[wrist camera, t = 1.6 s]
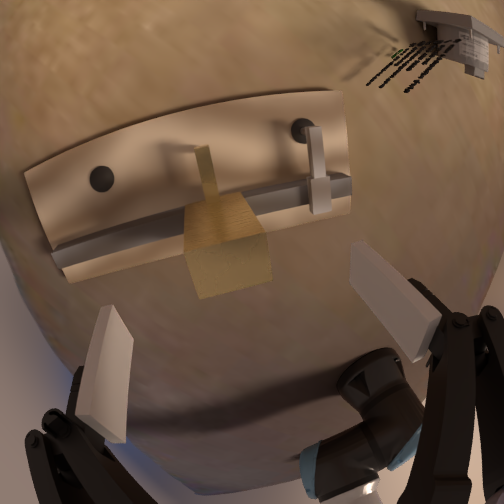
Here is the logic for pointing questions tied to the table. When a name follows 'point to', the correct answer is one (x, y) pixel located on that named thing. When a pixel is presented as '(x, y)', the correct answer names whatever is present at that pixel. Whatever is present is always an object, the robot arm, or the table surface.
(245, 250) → the brass sliding point
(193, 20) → the table surface
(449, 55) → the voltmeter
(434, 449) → the robot arm
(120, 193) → the gauge board
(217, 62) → the table surface
